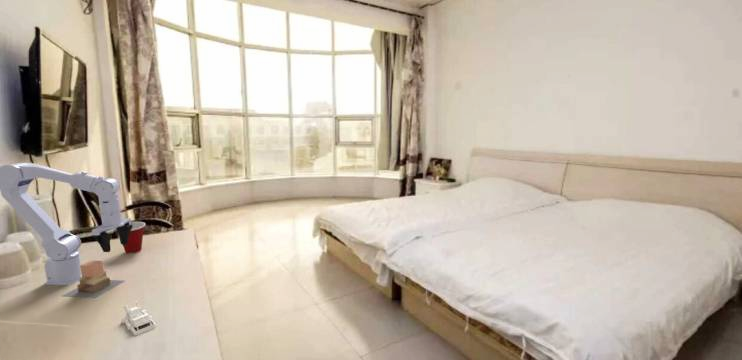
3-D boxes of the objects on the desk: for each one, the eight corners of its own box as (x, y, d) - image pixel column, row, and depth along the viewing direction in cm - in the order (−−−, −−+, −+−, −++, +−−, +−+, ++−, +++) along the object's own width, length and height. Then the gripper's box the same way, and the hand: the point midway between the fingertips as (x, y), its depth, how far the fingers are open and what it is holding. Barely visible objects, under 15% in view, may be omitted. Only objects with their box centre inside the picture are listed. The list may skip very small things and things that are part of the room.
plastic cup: (121, 258, 141) (118, 230, 139) (115, 251, 148) (112, 225, 146) (151, 250, 149) (148, 224, 147) (144, 244, 156) (141, 219, 154)
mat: (61, 296, 109) (61, 296, 109) (94, 279, 121) (94, 279, 121) (94, 298, 108) (94, 297, 108) (125, 281, 120) (125, 280, 120)
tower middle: (80, 284, 112) (78, 277, 112) (93, 277, 117) (92, 270, 116) (93, 285, 112) (92, 277, 111) (106, 278, 116) (105, 271, 116)
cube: (93, 277, 112) (91, 265, 111) (82, 276, 112) (80, 265, 111) (103, 271, 116) (102, 260, 115) (93, 271, 116) (91, 260, 115)
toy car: (133, 337, 89) (131, 322, 88) (119, 321, 97) (117, 307, 96) (159, 326, 94) (157, 312, 93) (144, 311, 101) (142, 298, 100)
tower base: (78, 291, 112) (77, 284, 112) (94, 283, 118) (93, 276, 117) (94, 292, 111) (93, 285, 111) (110, 284, 117) (109, 277, 117)
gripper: (103, 217, 114) (108, 255, 116) (136, 207, 128) (141, 241, 131) (84, 217, 115) (90, 255, 117) (119, 206, 129) (124, 240, 131)
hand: (115, 247), depth 124 cm, fingers open, 7 cm apart
